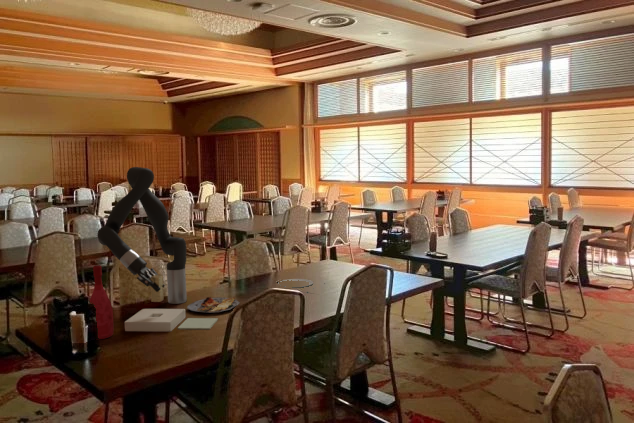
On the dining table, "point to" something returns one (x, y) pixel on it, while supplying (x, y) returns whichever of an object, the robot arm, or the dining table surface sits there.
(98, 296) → the wine bottle
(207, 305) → the food plate
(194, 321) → the green pad
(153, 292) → the tan rectangular block
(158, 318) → the cover plate
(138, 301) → the dining table surface
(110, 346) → the dining table surface
